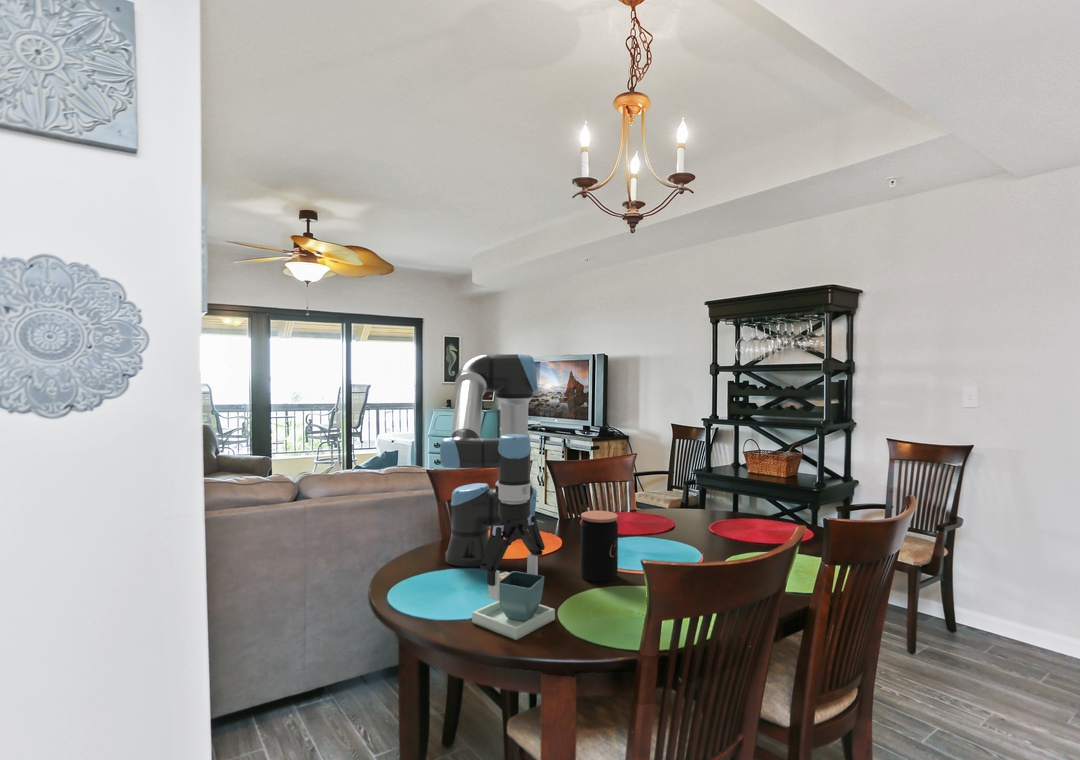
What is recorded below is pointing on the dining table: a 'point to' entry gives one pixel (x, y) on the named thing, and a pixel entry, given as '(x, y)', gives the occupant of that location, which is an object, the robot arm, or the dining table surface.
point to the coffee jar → (599, 546)
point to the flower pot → (520, 594)
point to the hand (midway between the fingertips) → (513, 589)
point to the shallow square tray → (511, 620)
